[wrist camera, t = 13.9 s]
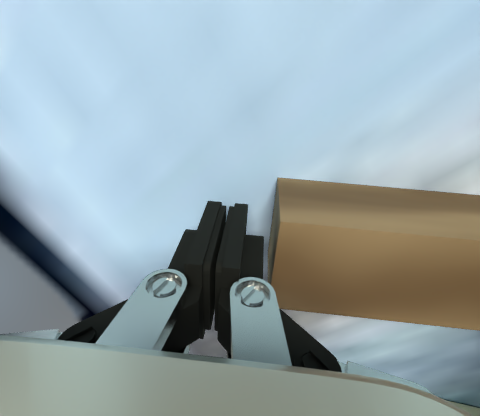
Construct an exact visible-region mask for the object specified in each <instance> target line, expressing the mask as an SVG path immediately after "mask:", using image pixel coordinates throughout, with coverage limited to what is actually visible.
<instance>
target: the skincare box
mask: <svg viewBox="0 0 480 416" xmlns="http://www.w3.org/2000/svg"><path fill="white" fill-rule="evenodd" d="M446 401H447V400H446ZM448 402H450V403H452V404H454V405H456V406H458V407H460V408H462V409H463V410H465V411H467V412H469V413H470V414H472V415H473V416H480V408H477V407H473V406H468V405H464V404H460V403H455V402H451V401H448Z"/></svg>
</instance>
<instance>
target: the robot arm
mask: <svg viewBox="0 0 480 416" xmlns="http://www.w3.org/2000/svg"><path fill="white" fill-rule="evenodd" d="M247 211H248V204H237V203H235V206H234V207H232V206H230V207H229V211H228V216H227V220H226V206H222V203H221V202H214V201H208V203H207V205H206V208H205V210H204V213H203V216H202V218H201V221H200V223H199V226H198V229H197V230H188V229H186V230H185V232H184V234H183V236H182V238H181V240H180V243H179V245H178V247H177V249H176V252H175V254H174V256H173V258H172V261H171V263H170V265H169V267H168V269H161V270H157V271H154V272H152V273H151V274H149V275H147V276H146V277H145V278H144V279H143V281H142V282H141V283H140V285H139V286H138V287H137V289H136V290H135V291H134V293H133V294H132V295H131V297H130V298H129V299H127V300H125V301H123V302H121V303H119V304H117V305H115V306H113V307H111V308H108V309H106V310H104V311H102V312H100V313H98V314H96V315H94V316H92V317H90V318H87V319H85V320H83V321H81V322H79V323H77V324H75V325H73V326H72V327H70V328H68V329H67V330H66V331H65V332H60V330H59V329H52V330H42V331H31V332H20V333H10V334H0V416H473V415H472V414H470V413H469V412H467V411H465V410H463V409H462V408H460V407H458V406H456V405H454V404H452V403H450V402H448V401H446V400H444V399H442V398H439V397H437V396H435V395H434V394H432V393H431V392H430V391H429V390H427V389H426V388H425V387H423V386H421V385H419V384H417V383H414V382H411V381H408V380H405V379H402V378H399V377H396V376H393V375H390V374H387V373H384V372H381V371H378V370H374V369H371V368H368V367H365V366H362V365H359V364H356V363H353V362H350V361H347V364H344V363H341V362H338V361H337V359H336V358H335V357H334V356H333V355H332V354H331V353H330V352H329V351H328V350H327V349H326V348H325V347H324V346H322V345H321V344H320V343H319V342H318V341H317V340H315V339H314V338H313V337H312V336H311V335H310V334H309V333H307V332H306V331H305V330H304V329H303V328H302V327H300V326H299V325H298V324H297V323H296V322H295V321H294V320H292V319H291V318H290V317H289V316H288V315H287V314H285V313H284V312H283V311H282V310H281V309H280V308H279V306H278V302H277V298H276V293H275V291H274V289H273V287H272V286H271V285H270V284H269V283H268V282H266V281H265V280H263V245H264V237H263V236H253V235H246V224H247ZM214 310H215V331H218V341H219V342H220V343H221V345H222V346H223V347H224V348H225V349H226V351H227V358H219V357H210V356H201V355H193V354H188V353H189V350H190V344H191V343H192V342H194V341H196V340H197V339H199V338H200V339H203V337H204V333H205V329H206V330H210V329H211V325H212V320H213V315H214Z"/></svg>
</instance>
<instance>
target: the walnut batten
mask: <svg viewBox="0 0 480 416" xmlns="http://www.w3.org/2000/svg"><path fill="white" fill-rule="evenodd" d="M268 283H269V284H270V285H271V286H272V287H273V289H274V291H275V293H276V298H277V302H278V306H279V308H280V309H288V310H297V311H306V312H315V313H324V314H334V315H343V316H352V317H361V318H370V319H379V320H388V321H397V322H406V323H415V324H425V325H434V326H443V327H452V328H461V329H470V330H479V331H480V195H469V194H458V193H446V192H435V191H424V190H412V189H401V188H390V187H378V186H367V185H356V184H344V183H333V182H322V181H310V180H299V179H288V178H278V179H277V187H276V194H275V202H274V209H273V217H272V224H271V232H270V239H269V247H268Z"/></svg>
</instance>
